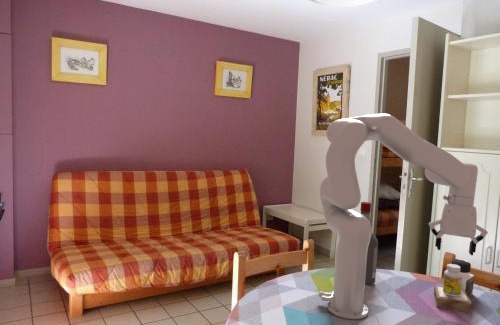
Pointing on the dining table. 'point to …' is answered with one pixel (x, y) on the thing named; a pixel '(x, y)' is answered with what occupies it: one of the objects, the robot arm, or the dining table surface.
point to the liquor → (370, 249)
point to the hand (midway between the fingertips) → (454, 251)
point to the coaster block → (452, 300)
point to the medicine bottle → (465, 275)
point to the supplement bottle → (452, 280)
